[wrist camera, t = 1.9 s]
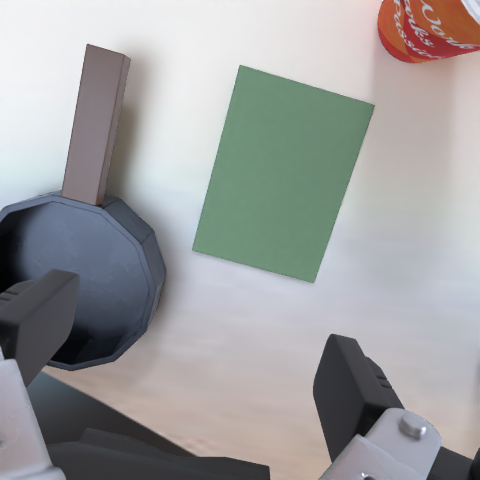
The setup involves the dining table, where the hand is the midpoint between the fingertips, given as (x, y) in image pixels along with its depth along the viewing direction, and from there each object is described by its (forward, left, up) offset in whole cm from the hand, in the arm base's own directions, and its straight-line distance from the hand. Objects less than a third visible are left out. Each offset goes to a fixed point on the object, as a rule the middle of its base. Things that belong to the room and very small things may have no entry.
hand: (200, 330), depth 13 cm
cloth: (-3, +3, -20) cm, 20 cm away
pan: (+3, -10, -20) cm, 22 cm away
